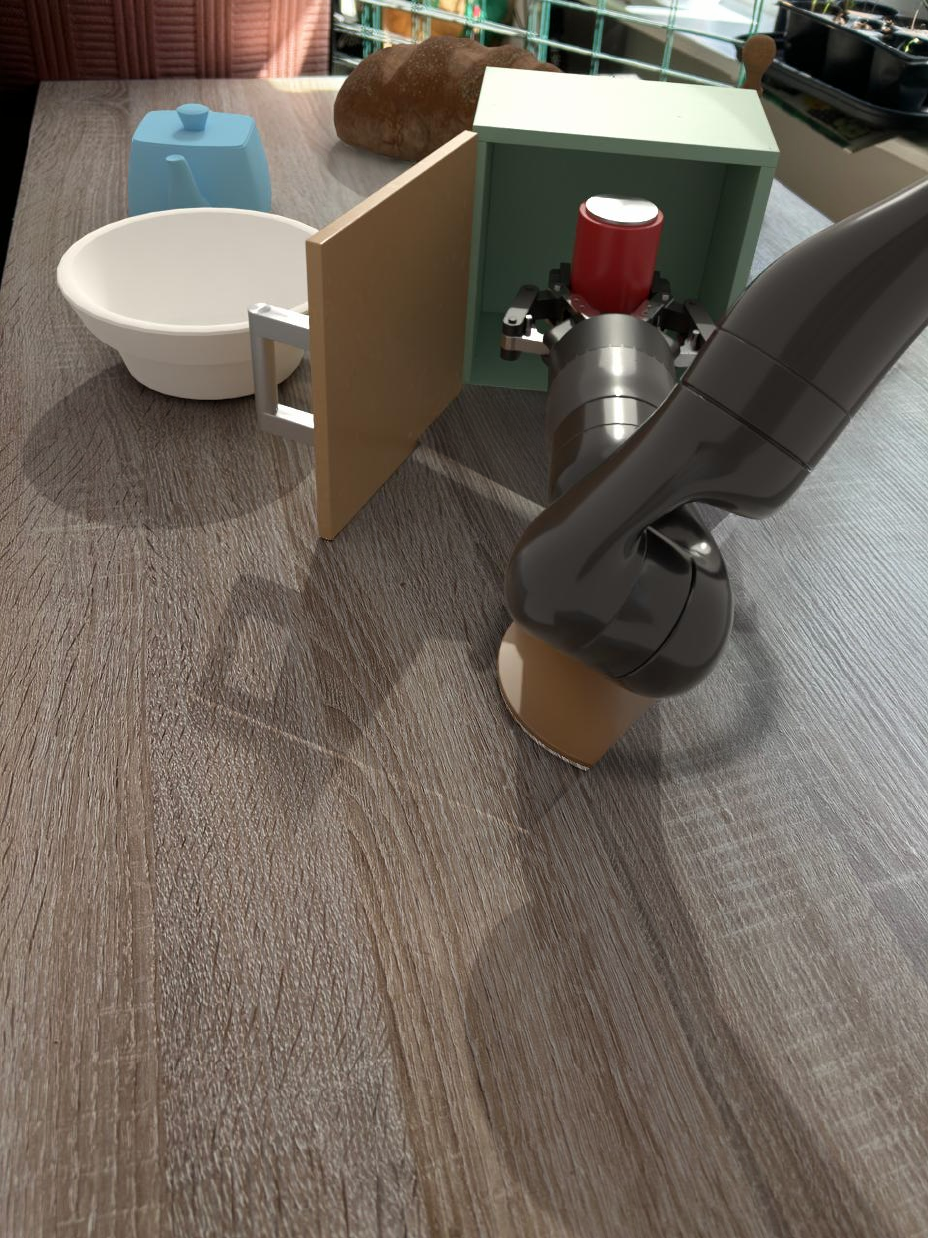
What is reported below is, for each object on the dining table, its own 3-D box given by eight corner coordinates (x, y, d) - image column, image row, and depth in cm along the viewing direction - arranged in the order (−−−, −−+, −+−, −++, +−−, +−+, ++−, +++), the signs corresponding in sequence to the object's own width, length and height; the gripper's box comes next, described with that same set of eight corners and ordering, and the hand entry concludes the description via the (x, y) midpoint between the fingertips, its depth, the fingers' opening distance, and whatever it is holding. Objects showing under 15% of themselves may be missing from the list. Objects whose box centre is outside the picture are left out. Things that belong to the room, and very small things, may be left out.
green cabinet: (713, 417, 82) (780, 151, 69) (456, 393, 83) (472, 124, 69) (699, 337, 92) (756, 89, 78) (469, 315, 92) (486, 65, 79)
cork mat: (593, 561, 69) (595, 551, 68) (804, 674, 62) (807, 665, 62) (442, 684, 60) (443, 675, 59) (669, 832, 53) (672, 823, 53)
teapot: (116, 280, 93) (93, 145, 86) (155, 199, 107) (138, 76, 99) (258, 286, 94) (248, 153, 86) (280, 205, 107) (272, 83, 99)
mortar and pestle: (716, 210, 113) (758, 21, 101) (765, 232, 109) (814, 39, 97) (674, 224, 109) (712, 30, 97) (723, 247, 106) (768, 49, 94)
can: (583, 367, 79) (610, 184, 70) (644, 394, 77) (681, 208, 68) (540, 394, 76) (562, 205, 67) (602, 423, 74) (634, 231, 64)
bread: (347, 116, 128) (344, 10, 120) (590, 135, 127) (603, 30, 119) (323, 163, 116) (318, 48, 109) (591, 184, 115) (605, 70, 108)
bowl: (402, 354, 87) (404, 257, 81) (220, 470, 74) (207, 364, 68) (213, 277, 95) (203, 185, 89) (17, 370, 82) (-9, 268, 76)
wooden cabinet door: (249, 513, 70) (219, 218, 57) (390, 377, 84) (393, 113, 70) (331, 541, 68) (321, 244, 55) (461, 398, 82) (478, 132, 69)
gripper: (754, 360, 58) (723, 234, 70) (491, 337, 58) (507, 216, 71) (724, 474, 63) (700, 338, 76) (482, 452, 63) (499, 320, 76)
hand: (607, 279), depth 73 cm, fingers closed on can, 5 cm apart
